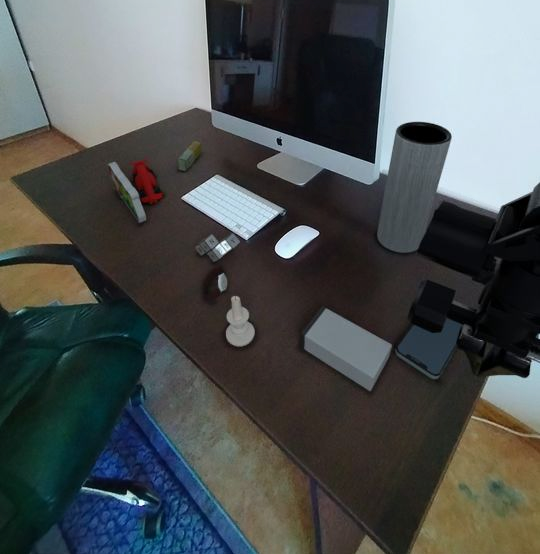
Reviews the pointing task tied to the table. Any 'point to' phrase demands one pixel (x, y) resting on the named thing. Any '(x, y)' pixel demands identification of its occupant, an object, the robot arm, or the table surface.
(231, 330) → the candle
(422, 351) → the smartphone
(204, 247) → the building blocks
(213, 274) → the watch
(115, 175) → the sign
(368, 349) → the box with lid
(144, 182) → the toy car
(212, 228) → the table surface
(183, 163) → the medication box
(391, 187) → the planter
